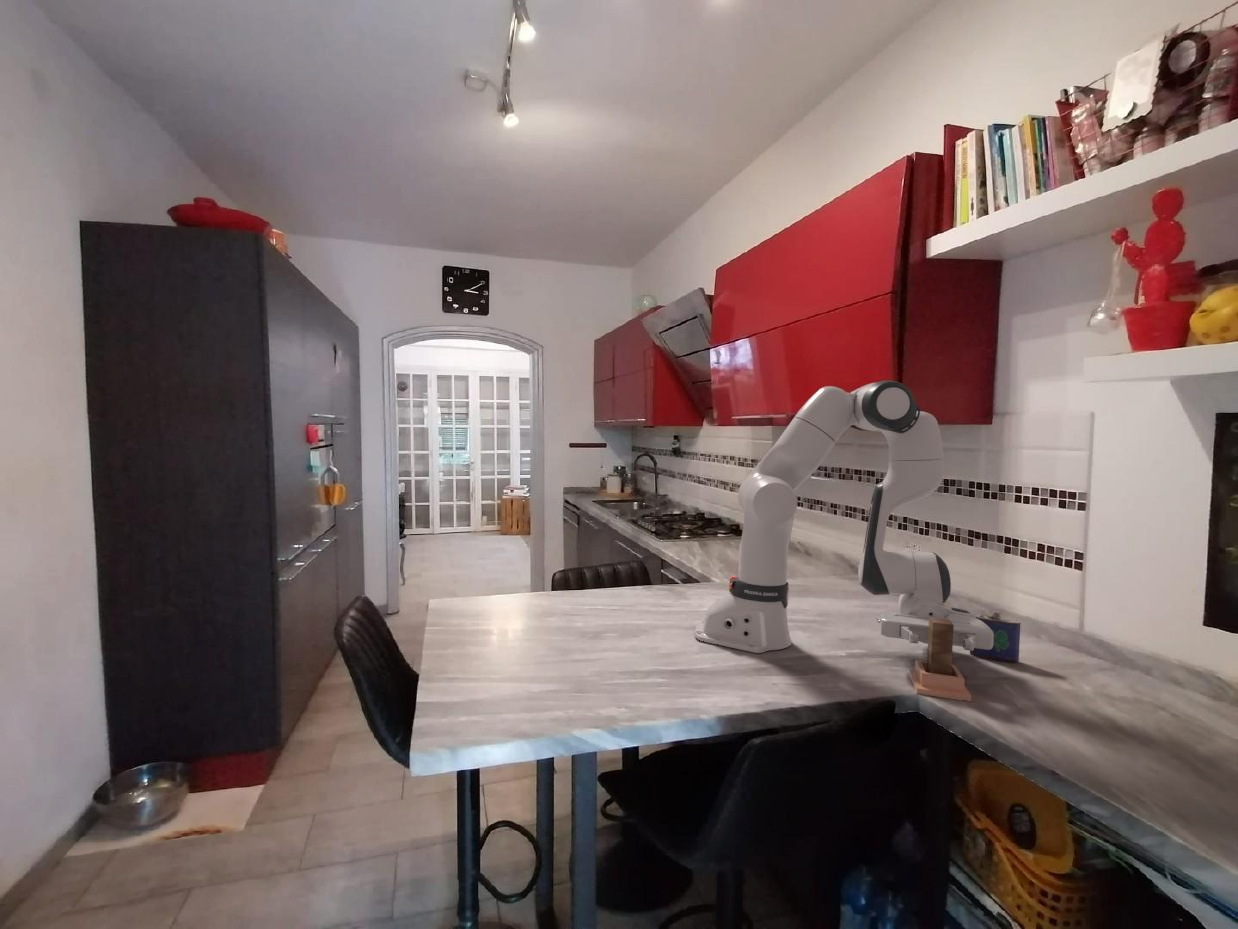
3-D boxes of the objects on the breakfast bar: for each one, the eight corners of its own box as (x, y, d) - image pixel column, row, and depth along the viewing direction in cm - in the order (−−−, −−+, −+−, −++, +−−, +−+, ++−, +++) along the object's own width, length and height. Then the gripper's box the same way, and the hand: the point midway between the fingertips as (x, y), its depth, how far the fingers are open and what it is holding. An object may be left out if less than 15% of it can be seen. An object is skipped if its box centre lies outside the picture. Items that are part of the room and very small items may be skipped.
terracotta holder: (916, 693, 107) (917, 675, 107) (908, 673, 116) (909, 656, 116) (971, 701, 104) (972, 683, 104) (958, 680, 113) (959, 663, 113)
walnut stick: (929, 683, 109) (933, 622, 108) (926, 676, 112) (929, 617, 112) (950, 686, 108) (953, 624, 107) (946, 679, 111) (949, 619, 110)
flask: (1017, 660, 125) (1020, 612, 124) (1020, 665, 122) (1022, 616, 122) (968, 652, 129) (971, 606, 129) (970, 656, 127) (972, 609, 126)
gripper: (875, 601, 125) (883, 619, 112) (982, 613, 118) (1003, 634, 105) (874, 629, 125) (881, 651, 112) (980, 642, 119) (1001, 667, 106)
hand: (941, 642), depth 109 cm, fingers open, 8 cm apart
